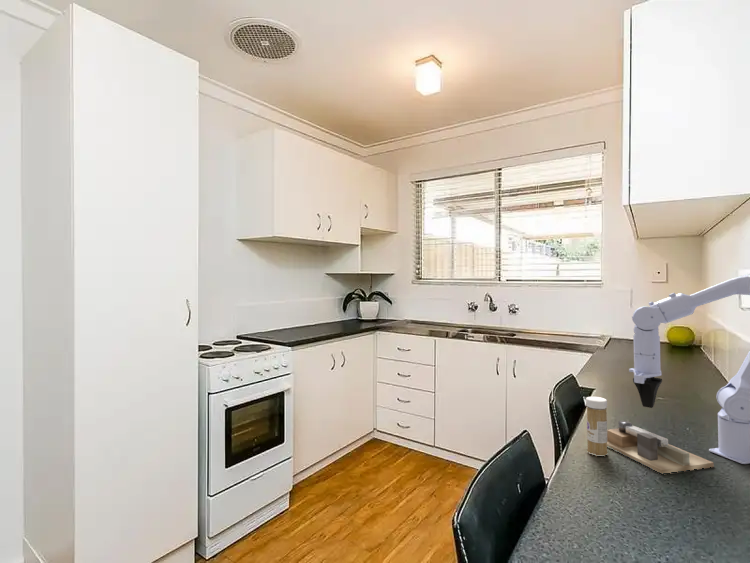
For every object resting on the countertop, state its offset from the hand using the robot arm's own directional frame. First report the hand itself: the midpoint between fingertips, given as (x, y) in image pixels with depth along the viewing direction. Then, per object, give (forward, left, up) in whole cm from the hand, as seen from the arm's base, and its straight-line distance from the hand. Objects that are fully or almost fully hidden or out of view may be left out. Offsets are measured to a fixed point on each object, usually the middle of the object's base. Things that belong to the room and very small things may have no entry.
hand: (648, 406), depth 109 cm
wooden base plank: (+5, +6, -9) cm, 12 cm away
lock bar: (+7, +5, -5) cm, 10 cm away
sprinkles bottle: (+17, +2, -10) cm, 20 cm away
